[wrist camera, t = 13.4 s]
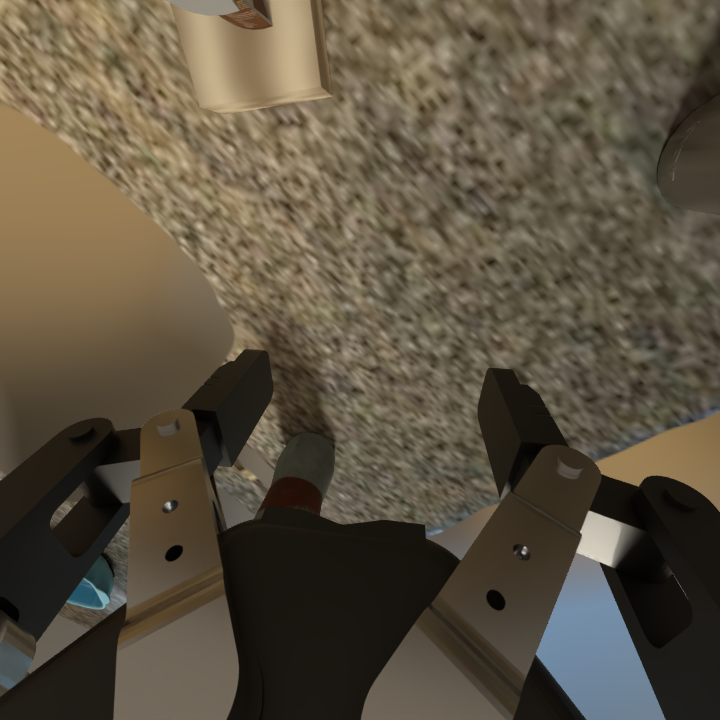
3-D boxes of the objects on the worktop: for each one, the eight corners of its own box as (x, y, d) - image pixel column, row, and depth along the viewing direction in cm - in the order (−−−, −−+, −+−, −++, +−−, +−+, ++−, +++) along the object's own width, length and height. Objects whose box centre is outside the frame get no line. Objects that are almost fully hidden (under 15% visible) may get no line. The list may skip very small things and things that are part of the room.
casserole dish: (15, 559, 96) (-12, 585, 90) (-17, 516, 85) (-50, 544, 78) (134, 588, 96) (116, 616, 90) (119, 549, 84) (97, 579, 78)
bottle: (338, 471, 57) (282, 717, 32) (288, 465, 58) (194, 699, 33) (337, 432, 52) (271, 685, 27) (283, 426, 53) (168, 666, 28)
